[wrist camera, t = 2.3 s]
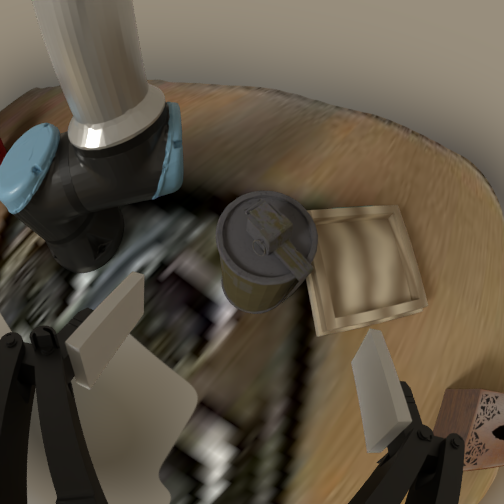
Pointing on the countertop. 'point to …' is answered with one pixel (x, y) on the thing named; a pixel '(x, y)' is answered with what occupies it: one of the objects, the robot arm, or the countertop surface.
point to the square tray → (362, 269)
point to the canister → (264, 249)
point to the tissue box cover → (474, 425)
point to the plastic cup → (2, 152)
